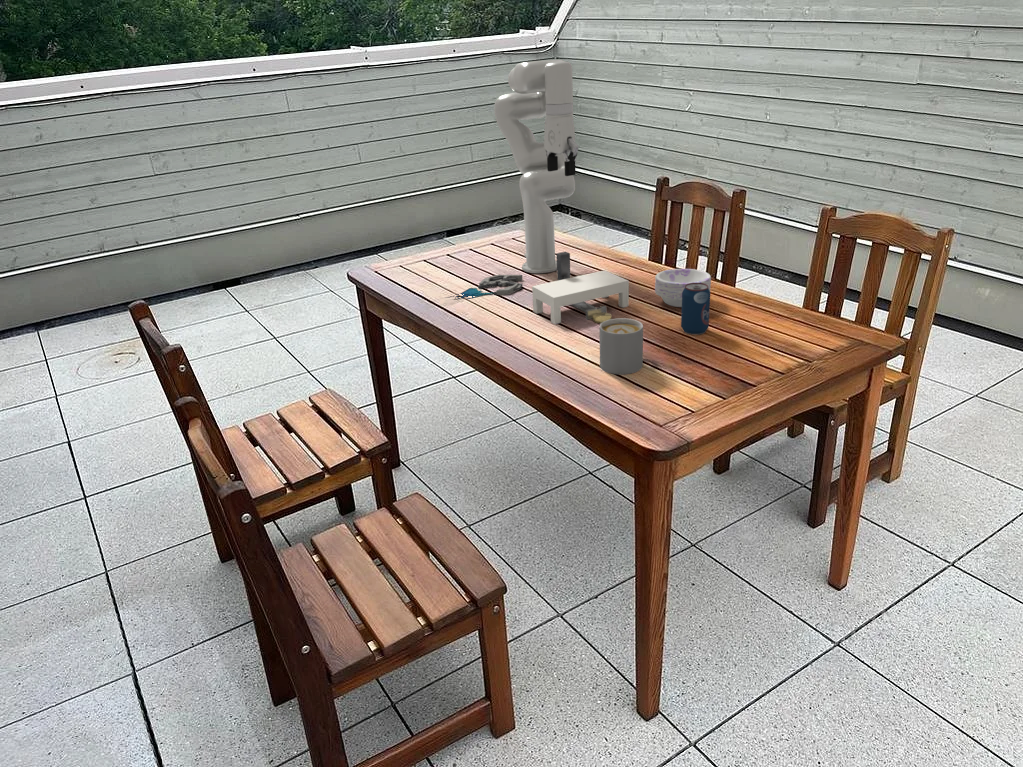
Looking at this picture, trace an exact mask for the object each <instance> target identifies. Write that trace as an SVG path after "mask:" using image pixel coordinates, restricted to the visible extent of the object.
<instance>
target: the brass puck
mask: <svg viewBox="0 0 1023 767" xmlns="http://www.w3.org/2000/svg"><path fill="white" fill-rule="evenodd" d="M612 316H613V315H612V314H611V313H609V312H607V313H605V312H600V313H596V314H594V315H593V319H592V322H593V323H596V324H599V325H600V324H601V323H602V322H604V321H607V320H610V319H613V318H612Z"/></svg>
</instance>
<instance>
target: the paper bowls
mask: <svg viewBox="0 0 1023 767" xmlns="http://www.w3.org/2000/svg"><path fill="white" fill-rule="evenodd" d="M654 280H655V282H654V293H655V294H656V295H657V296H659V297H661V299H662V301H663V302H664V303H665V304H667V305H668V306H671V307H674V308H675V307H676V308H682V292H683V290H684V288H685V285H686V284H689V283H704V284H707V285H708V289H709V291H710V292H711V287H712V286H711V283H712V276H711V275H710V273H708V272H706V271H704V270H701V269H694V268H672V269H666V270H662V271H660V272H658V273H657V274H656V275H655V278H654Z"/></svg>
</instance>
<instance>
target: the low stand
mask: <svg viewBox="0 0 1023 767" xmlns="http://www.w3.org/2000/svg"><path fill="white" fill-rule="evenodd" d="M629 284H630V281H629V280H628V279H627V278H623V277H622V276H620V275H616V274H614V273H612V272H609V271H607V270H600V271H596V272H592V273H587V274H583V275H577V276H573V277H570V278H568V279H563V280H558V281H557V280H554V281H550V282H546V283H541V284H537V285H532V286H531V288H532V289H531V290H532V291H531V292H532V312H533V313H535V314H541V313H544V304H545V305H547V306H549V307H550V322H551V324H553V325H558V324H562V314H561V313H562V310H561V308H562V307H567V306H572V305H571V304H575V303H579V302H584V301H585V302H588V301H592V300H595V299H600V298H603V299H605V298H609V296H614V295H617V294H618V306H619V307H620V308H627V307H629V305H630V304H629V296H630V295H629V290H630V289H629V288H630V285H629ZM543 303H544V304H543Z"/></svg>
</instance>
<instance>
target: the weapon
mask: <svg viewBox="0 0 1023 767" xmlns="http://www.w3.org/2000/svg"><path fill="white" fill-rule="evenodd" d="M521 281H523V274H496V275H492V276H489V277H484V278H483V279H482V280H481V281H480V282H479V283H478V286H477V287H470V288H468V289H466V290H464V291H463V292H461V293H458V294H457V295H459V294H462V295H463V294H464V295H463V296H462V297H461V298H462V299H463V298H464V297H468V296H472V298H467V300H470V299H474V298H478V297H481V296H485V295H491V294H492V295H497V296H502V295H510V294H513V293H515V292H516V291H519V290H521V288H522V287H523V283H521ZM497 286H499V287H504V288H498V289H497V290H496V291H494V292H482V289H488V288H494V287H497ZM505 286H507V287H505ZM480 289H481V290H480ZM473 296H475V297H473ZM457 297H458V296H457Z"/></svg>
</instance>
